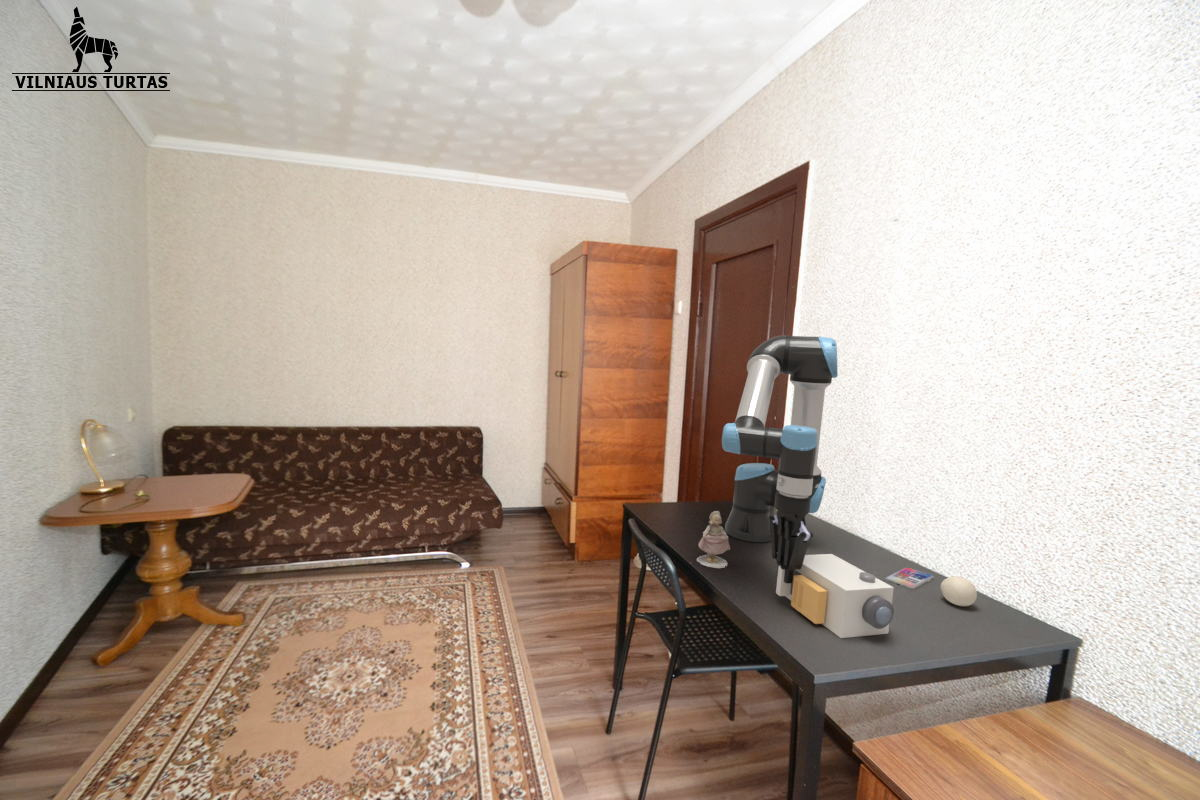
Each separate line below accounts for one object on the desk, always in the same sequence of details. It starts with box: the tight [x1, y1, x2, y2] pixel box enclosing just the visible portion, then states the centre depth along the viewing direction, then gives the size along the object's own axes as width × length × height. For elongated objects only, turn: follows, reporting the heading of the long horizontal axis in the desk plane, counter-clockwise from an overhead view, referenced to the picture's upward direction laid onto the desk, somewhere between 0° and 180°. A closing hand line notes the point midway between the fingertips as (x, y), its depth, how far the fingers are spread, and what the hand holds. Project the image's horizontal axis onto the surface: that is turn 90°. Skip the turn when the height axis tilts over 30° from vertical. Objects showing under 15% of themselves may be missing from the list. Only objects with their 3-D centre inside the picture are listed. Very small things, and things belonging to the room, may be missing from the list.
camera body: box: [784, 553, 895, 639], centre depth 109 cm, size 21×12×11 cm, turn 16°
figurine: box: [689, 510, 731, 569], centre depth 136 cm, size 11×10×15 cm
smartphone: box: [884, 567, 935, 590], centre depth 134 cm, size 7×1×15 cm
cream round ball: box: [940, 575, 978, 607], centre depth 120 cm, size 7×7×7 cm
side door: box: [790, 575, 827, 625], centre depth 108 cm, size 8×2×7 cm, turn 16°
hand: (782, 594), depth 114 cm, fingers closed
